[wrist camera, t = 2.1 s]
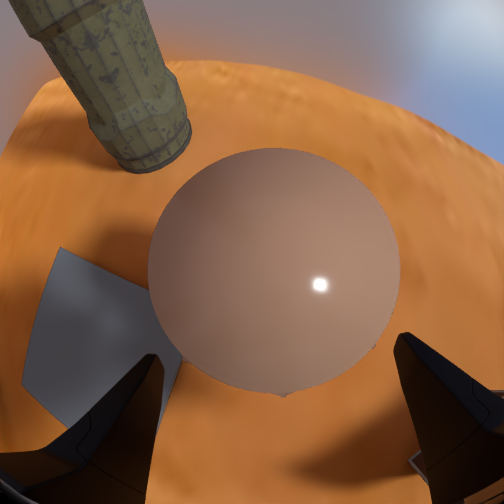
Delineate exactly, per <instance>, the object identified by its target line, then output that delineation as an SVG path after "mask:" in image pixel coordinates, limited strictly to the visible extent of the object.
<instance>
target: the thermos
mask: <svg viewBox="0 0 504 504" xmlns="http://www.w3.org/2000/svg"><path fill="white" fill-rule="evenodd" d="M9 2H10V4H11V6H12V7H13V10H14V11H15V13H16V15H17V16H18V18H19V20H20V22H21V24H22V25H23V27H24V29H25V30H26V32H27V34H28V35H29V37H31V38H33V39H35V40H37V41H39V42H41V44H42V45H43V47H44V49H45V50H46V52H47V53H48V55H49V57H50V58H51V60H52V61H53V63H54V65H55V66H56V68H57V69H58V71H59V72H60V74H61V76H62V77H63V79H64V80H65V82H66V83H67V85H68V86H69V88H70V89H71V91H72V92H73V94H74V95H75V97H76V98H77V99H78V101H79V102H80V104H81V105H82V107H83V108H84V110H85V111H86V113H87V119H88V123H89V127H90V129H91V130H92V132H93V133H94V134H95V136H96V137H97V138H98V140H99V141H100V142H101V144H102V145H103V146H104V147H105V149H106V150H107V151H108V153H109V154H111V155H112V156H113V157H114V158H116V159H117V161H118V163H119V164H120V166H121V167H123V168H124V169H125V170H126V171H127V172H131V173H135V174H142V173H150V172H153V171H156V170H158V169H161V168H163V167H165V166H166V165H168V164H170V163H171V162H173V161H174V160H175V159H176V158H177V157H178V156H179V155H181V154H182V153H183V152H184V150H185V148H186V147H187V145H188V144H189V142H190V139H191V135H192V129H191V124H190V121H189V119H188V118H187V109H186V105H185V102H184V99H183V96H182V93H181V90H180V87H179V85H178V82H177V79H176V77H175V75H174V74H173V73H172V72H171V71H170V70H169V69H168V68H167V67H166V66H165V63H164V61H163V58H162V55H161V52H160V50H159V47H158V44H157V41H156V38H155V35H154V32H153V30H152V27H151V24H150V21H149V18H148V15H147V12H146V9H145V6H144V3H143V0H9Z"/></svg>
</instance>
